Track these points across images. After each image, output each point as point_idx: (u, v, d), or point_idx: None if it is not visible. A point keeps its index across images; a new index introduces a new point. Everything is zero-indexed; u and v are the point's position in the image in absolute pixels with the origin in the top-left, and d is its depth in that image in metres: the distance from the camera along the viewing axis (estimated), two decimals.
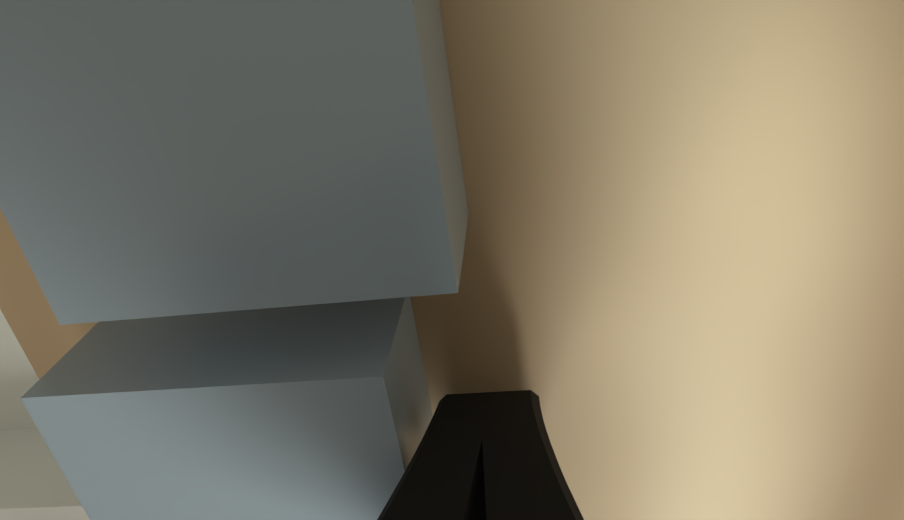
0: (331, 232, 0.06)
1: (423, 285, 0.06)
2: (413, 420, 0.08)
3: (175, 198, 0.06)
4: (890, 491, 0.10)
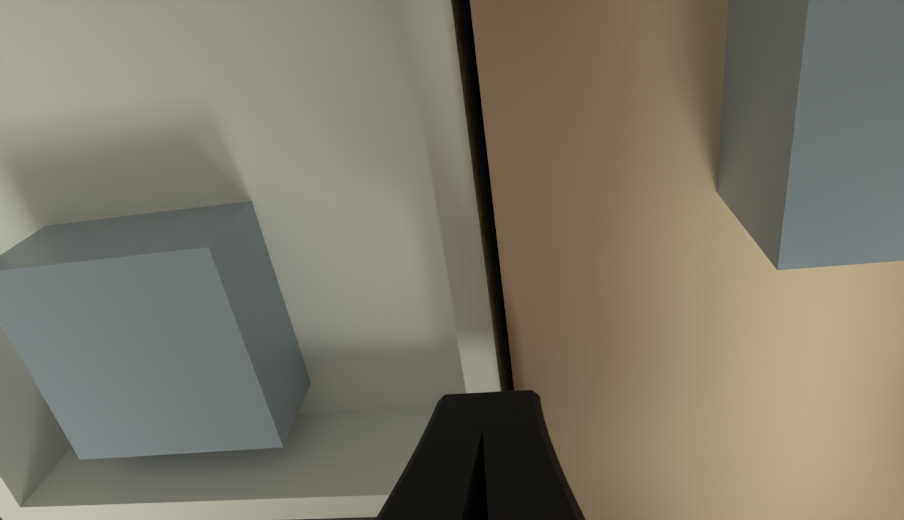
0: None
1: None
2: None
3: None
4: None
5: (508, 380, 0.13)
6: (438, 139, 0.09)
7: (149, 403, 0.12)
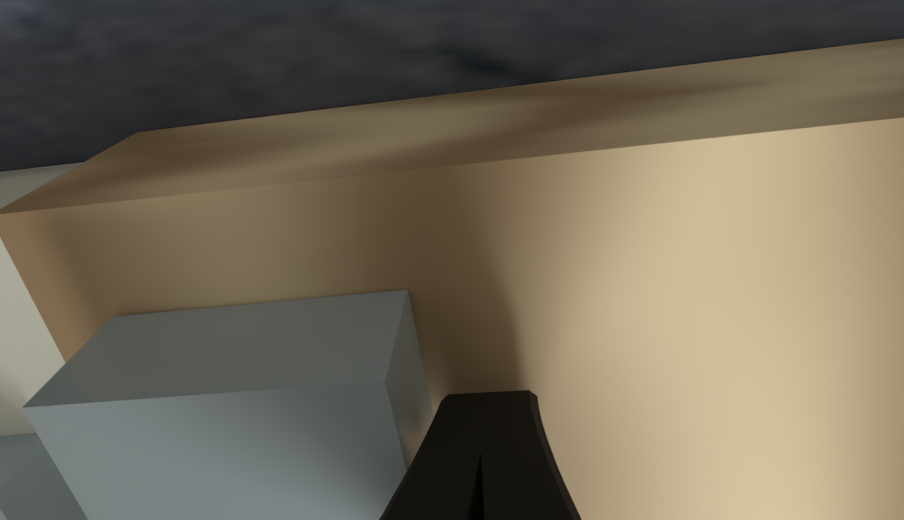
0: None
1: None
2: None
3: None
4: None
5: None
6: None
7: None
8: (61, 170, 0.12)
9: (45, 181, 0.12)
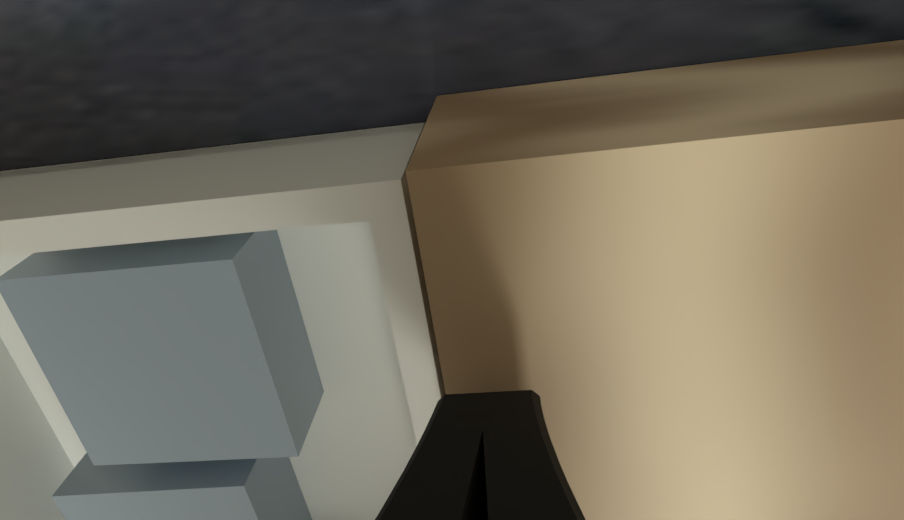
0: None
1: None
2: None
3: None
4: None
5: None
6: None
7: None
8: (355, 136, 0.12)
9: (353, 146, 0.11)
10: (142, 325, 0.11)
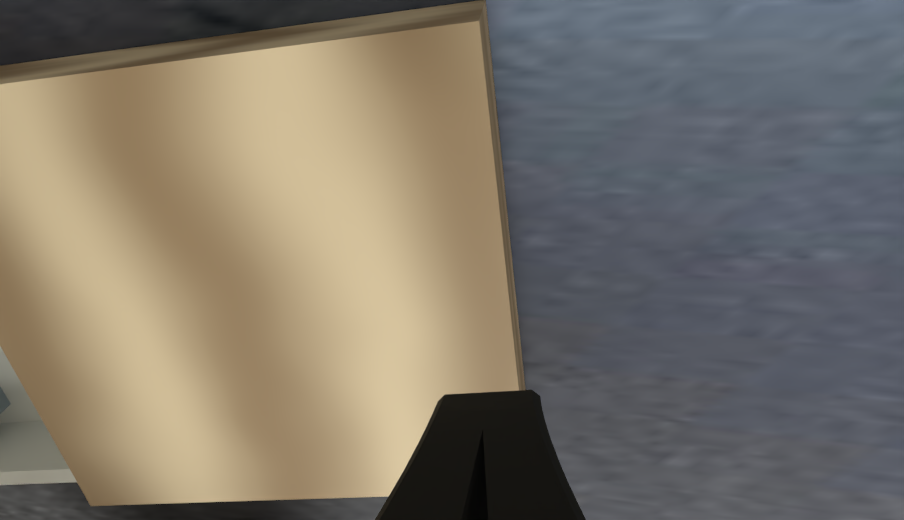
0: None
1: None
2: None
3: None
4: None
5: None
6: None
7: None
8: None
9: None
10: None
